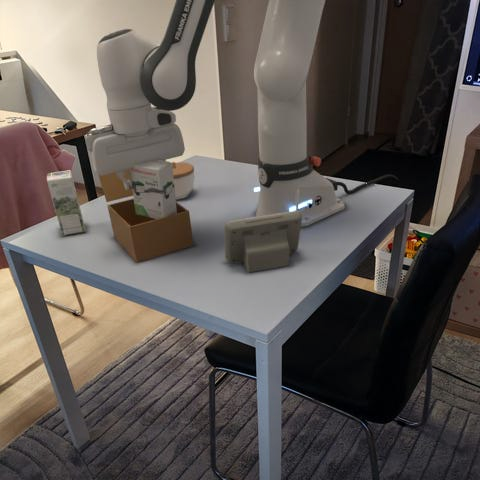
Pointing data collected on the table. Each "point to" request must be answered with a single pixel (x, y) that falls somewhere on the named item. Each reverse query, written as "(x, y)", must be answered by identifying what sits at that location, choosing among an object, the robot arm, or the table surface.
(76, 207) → the syrup box
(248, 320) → the table surface
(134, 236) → the carton
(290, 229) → the digital clock
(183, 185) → the trinket box
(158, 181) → the ink box
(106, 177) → the flap
